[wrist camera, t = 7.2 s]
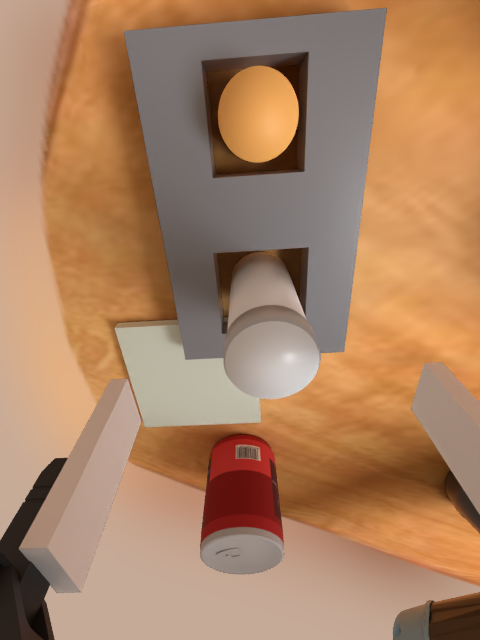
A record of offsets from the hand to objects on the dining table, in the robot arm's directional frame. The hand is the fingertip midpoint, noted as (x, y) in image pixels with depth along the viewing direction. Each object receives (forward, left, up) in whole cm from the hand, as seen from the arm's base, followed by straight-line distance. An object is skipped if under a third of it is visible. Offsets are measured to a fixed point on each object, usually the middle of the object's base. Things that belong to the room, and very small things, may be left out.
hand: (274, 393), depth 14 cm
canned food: (-23, +3, -15) cm, 28 cm away
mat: (-10, +7, -14) cm, 19 cm away
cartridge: (0, 0, -15) cm, 15 cm away
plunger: (+11, 0, -13) cm, 17 cm away
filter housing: (+5, 0, -14) cm, 15 cm away
